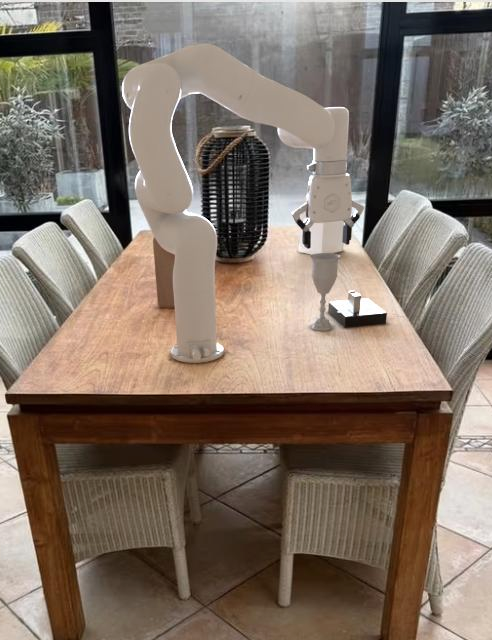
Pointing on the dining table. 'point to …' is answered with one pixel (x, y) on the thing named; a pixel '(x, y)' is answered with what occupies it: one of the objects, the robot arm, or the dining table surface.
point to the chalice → (323, 283)
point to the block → (164, 275)
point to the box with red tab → (354, 301)
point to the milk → (323, 236)
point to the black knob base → (357, 314)
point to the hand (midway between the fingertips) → (326, 245)
